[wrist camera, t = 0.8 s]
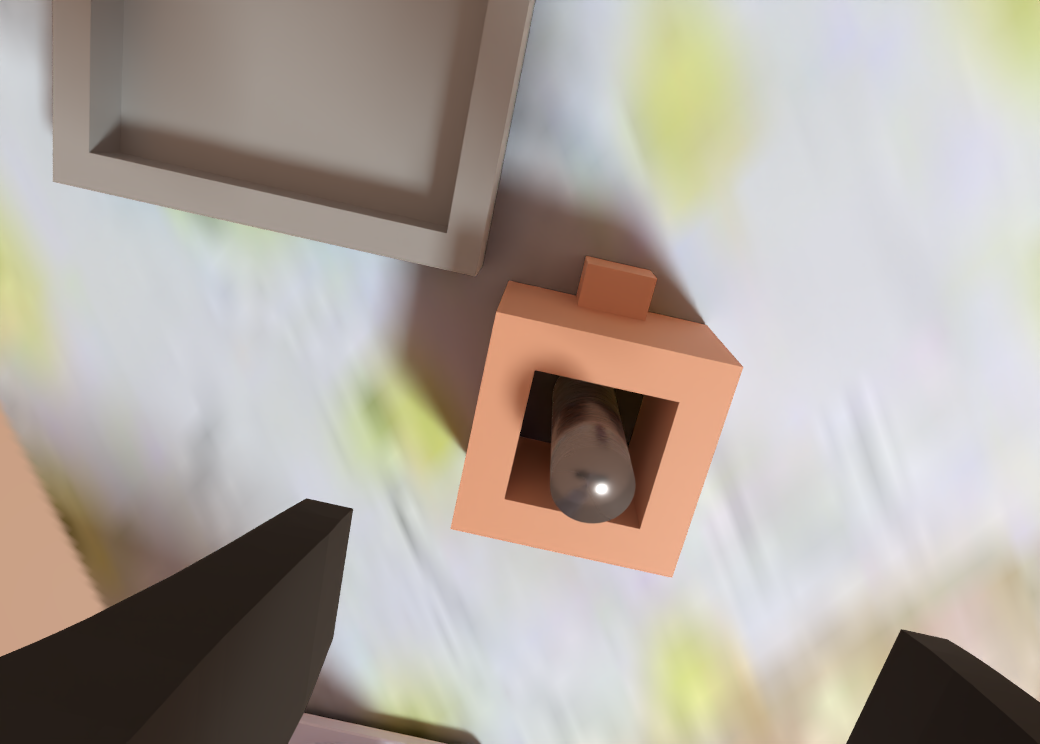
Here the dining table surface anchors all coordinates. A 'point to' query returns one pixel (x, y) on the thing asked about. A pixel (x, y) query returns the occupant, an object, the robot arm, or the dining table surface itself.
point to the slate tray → (297, 114)
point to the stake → (589, 453)
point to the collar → (610, 362)
